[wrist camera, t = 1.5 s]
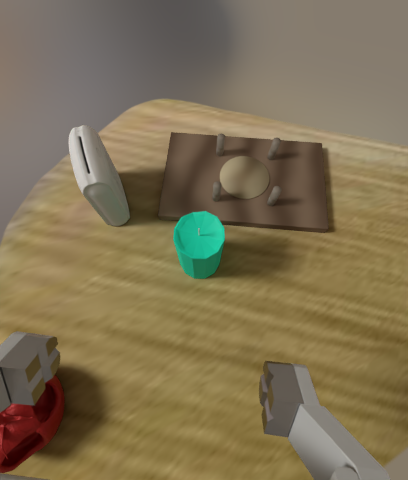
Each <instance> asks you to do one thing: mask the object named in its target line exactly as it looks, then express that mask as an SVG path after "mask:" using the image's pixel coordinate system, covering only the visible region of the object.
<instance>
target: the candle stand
mask: <svg viewBox="0 0 408 480" xmlns="http://www.w3.org/2000/svg"><path fill="white" fill-rule="evenodd" d="M202 211H207V212H209V213H211V214H213V215H215V216H217V217H218V219H219V220H220V222H221V223H222V225H234V226H246V227H259V228H271V229H284V230H296V231H309V232H321V233H325V232H326V231H327V230H328V229H329V227H328V215H327V202H326V190H325V177H324V165H323V152H322V143H312V142H298V141H284V140H280V139H279V138H274V139H273V140H270V139H256V138H242V137H228V136H225V135H224V134H219V135H218V136H214V135H201V134H187V133H173V132H171V137H170V143H169V149H168V155H167V162H166V168H165V174H164V181H163V187H162V193H161V199H160V206H159V212H158V217H159V220H172V221H179V220H180V218H181V217H182V216H185V215H187V214H190V213H192V212H202Z"/></svg>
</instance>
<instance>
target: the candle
mask: <svg viewBox="0 0 408 480" xmlns="http://www.w3.org/2000/svg"><path fill="white" fill-rule="evenodd" d="M173 240H174V244H175V247H176V251H177V254H178V258H179V261H180V265H181V266H182V268H183V270H184V272H185V273H186V274H188V275H189V276H191V277H193V278H196V279H205V278H207V277H209V276H210V275H212V274H214V273H215V271H216V269H217V268H218V266H219V263H220V259H221V254H222V250H223V245H224V241H225V235H224V226H223V225H222V223H221V222H220V220H219V219H218V217H217V216H215V215H213V214H211V213H209V212H207V211H202V212H192V213H190V214H187V215H185V216H182V217H181V218H180V220H179V221H178V223H177V225H176V226H175V228H174V239H173Z"/></svg>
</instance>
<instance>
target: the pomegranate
mask: <svg viewBox="0 0 408 480" xmlns="http://www.w3.org/2000/svg"><path fill="white" fill-rule="evenodd" d="M64 401H65V400H64V392H63V389H62V386H61V383H60V381H59V379H58V378H57V377H56V376H55V375H54V376H53V378H52V379H50V380H49V381H47V382H45V390H44V392H43V393H42V395H41V396H40V398H39V399H38V401H37V402H36V404H35V405H23V404H12V403H11V405H10V406H9V407H7V408H6V409H5V410H3V411H2V412H1V413H0V473H5V472H9V471H12V470H14V469H15V468H16V467H18V466H19V465H20V464H21V463H22V462H24V461H25V460H26V459H28V458H29V457H30V456H31V455H32V454H34V453H35V452H36V451H39V450H41V449H42V448H43V447H44V446H45V445H46V444H48V443H49V442H50V441H51V439H52V438H53V436H54V435H55V434H56V432H57V429H58V427H59V425H60V423H61V421H62V417H63V412H64V403H65V402H64Z"/></svg>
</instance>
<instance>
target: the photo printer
mask: <svg viewBox="0 0 408 480" xmlns="http://www.w3.org/2000/svg"><path fill="white" fill-rule="evenodd" d="M69 150H70V151H69V152H70V157H71V162H72V166H73V170H74V174H75V177H76V180H77V183H78V186H79V188H80V190H81V192H82V194H83V195H84V196H85V198H86V199H87V200H88V201H89V203H90V204H91V205H92V206H93V208H94V209H95V210H96V211H97V213H98V214H99V215H100V216H101V218H102V219H103V220H104V221H105V222H106V224H108V225H112V226H120V225H123V224H125V223H126V222H127V221H128V219H130V213H129V208H128V204H127V200H126V196H125V193H124V189H123V186H122V183H121V180H120V177H119V174H118V172H117V170H116V168H115V167H114V165H113V163H112V161H111V159H110V157H109V155H108V153H107V151H106V149H105V147H104V145H103V143H102V141H101V139H100V137H99V135H98V134H97V132H96V131H95V130H94V129H92V128H90V127H88V126H85V125H82V126H81V127H77V128H73V129H72V130H71V132H70V135H69Z"/></svg>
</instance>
